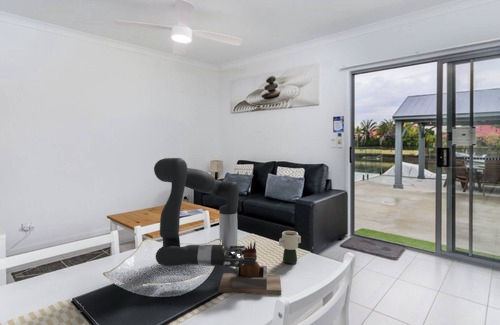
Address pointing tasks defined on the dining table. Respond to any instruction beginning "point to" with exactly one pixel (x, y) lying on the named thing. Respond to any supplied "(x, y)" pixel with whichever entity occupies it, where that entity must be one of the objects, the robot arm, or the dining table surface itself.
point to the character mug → (290, 246)
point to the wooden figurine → (250, 269)
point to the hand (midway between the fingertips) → (255, 256)
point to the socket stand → (250, 283)
